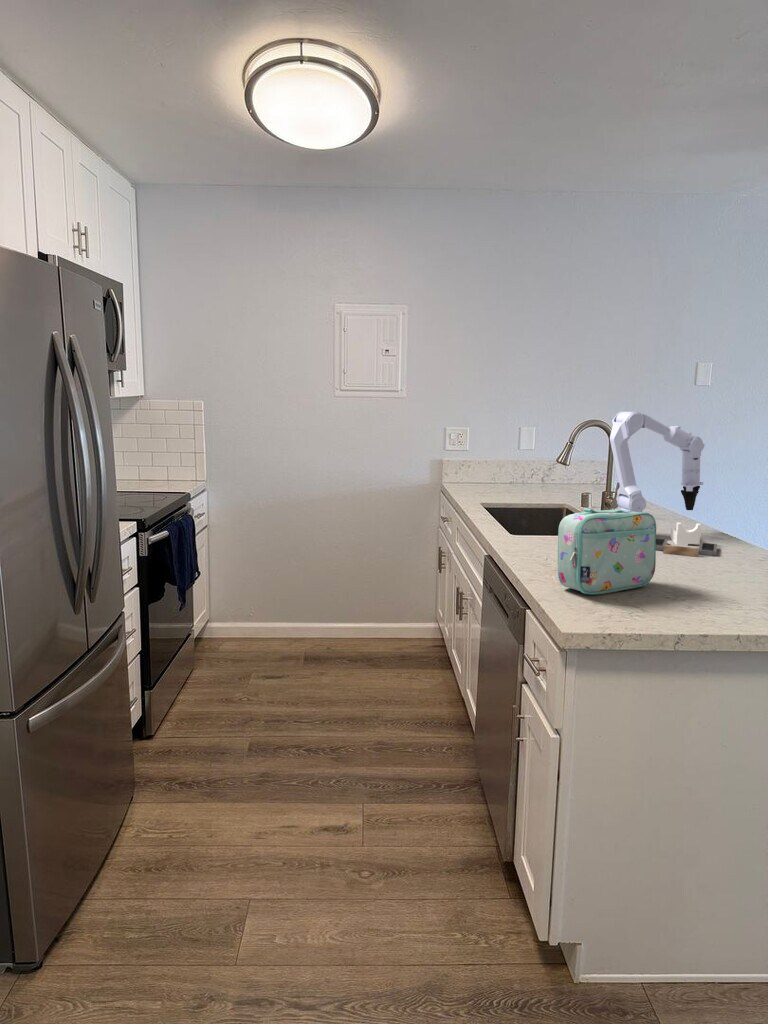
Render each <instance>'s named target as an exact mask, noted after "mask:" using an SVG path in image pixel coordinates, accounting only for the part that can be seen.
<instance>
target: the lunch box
mask: <svg viewBox="0 0 768 1024" xmlns="http://www.w3.org/2000/svg"><path fill="white" fill-rule="evenodd" d="M656 537H657V523H656V519H655V517H654V515H653V514H651V513H649V512H646V511H642V512H632V511H628V510H620V509H603V510H595V509H593V508H586V507H584V508H583V511H581V512H575V513H572V514H571V513H570V514H568V515H566V516H564V517H563V518H562V519H561V521H560V522H559V525H558V532H557V577H558V580H559V583H560V584H561V585H562V586H563V587H565V588H569V589H572V590H575V591H578V592H580V593H582V594H584V595H592V596H594V595H604V594H610V593H611V594H612V593H616V592H621V591H624V590H632V589H637V588H640V587H644V586H645V585H648V584H649V583H650V582H651V581H652V579H653V577H654V575H655V572H656V565H657V564H656V563H657V559H656V557H657V556H656V555H657V553H656V552H657V550H656Z"/></svg>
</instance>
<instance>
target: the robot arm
mask: <svg viewBox="0 0 768 1024" xmlns="http://www.w3.org/2000/svg"><path fill="white" fill-rule="evenodd" d="M611 421H612V428H611V431H610V435H609V442H610V447H611V450H612V451H611V452H612V454H613V455H612V456H613V459H614V460H613V461H614V464H615V470H616V475H617V479H618V484H619V488H618V489H617V498H616V504H617V506H618V508H619V510H628V511H632V512H644V510H645V509H646V506H647V500H646V498H645V497H644V496H643V494H642V491H641V489H640V488H639V486H638V485H637V481H636V478H635V472H634V467H633V463H632V457H631V453H630V449H629V443H628V441H629V440H630V438H631V437H632V436H633V435H634V434H636V433H637V432H638V431H640V430H641V429H648V430H650V431H652V432H654V433H656V434H659V435H661V436H663V440H664V441H665V442H667V443H670V444H671V445H673V446H675V447H677V448H679V450H680V452H682V458H681V460H682V461H681V463H682V464H681V465H682V466H681V469H682V470H681V484H680V485H681V486H682V489H681V490H680V493H681V495H682V498H683V500H684V506H685V509H686V511H693V510H694V508H695V504H696V501H697V495H698V494H699V492H700V491H699V490H700V488H701V486H703V485H704V481H700V480H701V479H700V477H701V455H702V451H703V450H704V449H705V443H704V441H703V439H702V438H701V437H700V436H696V435H695V436H694V435H692V434H693V433H692V432H690V431H685V430H682V429H681V426H679V425H675V426H674V425H671V426H667V425H665V424H663V423H662V422H660V421H659V420H656V419H655V418H652V417H651V416H649V415H647V414H644V413H642V412H639V411H628V410H621V411H619V412H617V413H616V415H615V416H614V417H613V419H612V420H611Z"/></svg>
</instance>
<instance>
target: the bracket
mask: <svg viewBox="0 0 768 1024" xmlns="http://www.w3.org/2000/svg"><path fill="white" fill-rule="evenodd" d="M675 527H676V528H674V527H671V528H670V533H669V534H670V539H671V540H672V541H673V543H674V544H675V546H682V547H689V545H700V542H701V532H702V524H701V523H699V522H697V523H695V527H694V528H692V529H691V528H683V527H682V523H681V522H676V526H675Z"/></svg>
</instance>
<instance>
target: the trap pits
mask: <svg viewBox="0 0 768 1024" xmlns="http://www.w3.org/2000/svg"><path fill="white" fill-rule="evenodd" d="M668 542H669V541H668V538H658V537H657V538H656V552H657V551H658V552H659V551H660V552H663V549H664V545H668ZM698 548H699V550H698V556H706V557H707V556H708V557H717V556H716V555H717V549H718V544H717V543H712V542H711V543H709V542H702V541H700V544H699V546H698Z"/></svg>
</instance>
